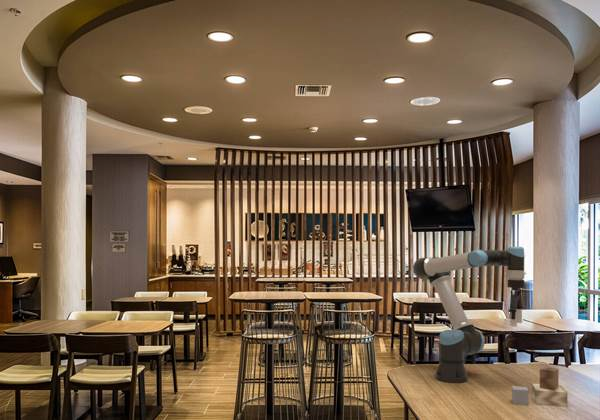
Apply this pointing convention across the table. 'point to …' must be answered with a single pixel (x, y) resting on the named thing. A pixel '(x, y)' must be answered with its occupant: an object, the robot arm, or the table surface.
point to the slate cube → (520, 395)
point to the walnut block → (549, 378)
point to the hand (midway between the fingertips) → (516, 324)
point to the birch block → (549, 396)
